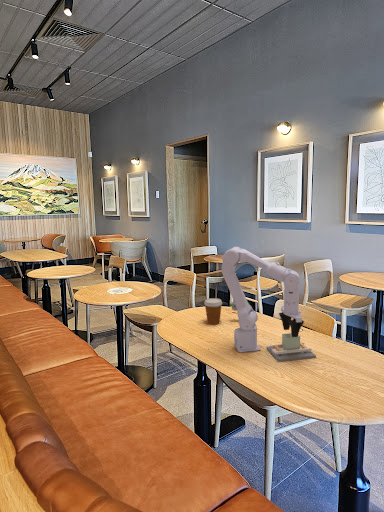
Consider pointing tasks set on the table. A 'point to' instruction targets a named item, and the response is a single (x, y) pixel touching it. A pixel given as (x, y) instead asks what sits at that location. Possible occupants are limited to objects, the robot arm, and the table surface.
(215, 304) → the disposable coffee cup
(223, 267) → the robot arm
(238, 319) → the mechanical component
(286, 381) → the table surface
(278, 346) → the rail board
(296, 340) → the block
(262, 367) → the table surface
